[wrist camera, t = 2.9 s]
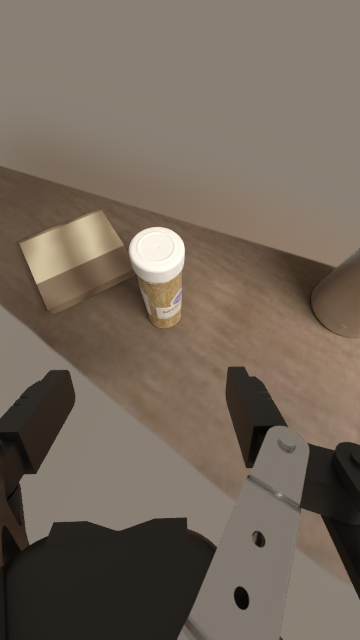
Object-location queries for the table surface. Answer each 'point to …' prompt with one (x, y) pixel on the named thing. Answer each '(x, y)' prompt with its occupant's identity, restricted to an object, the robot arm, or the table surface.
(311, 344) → the table surface
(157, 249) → the sprinkles bottle
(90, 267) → the board
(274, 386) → the table surface
